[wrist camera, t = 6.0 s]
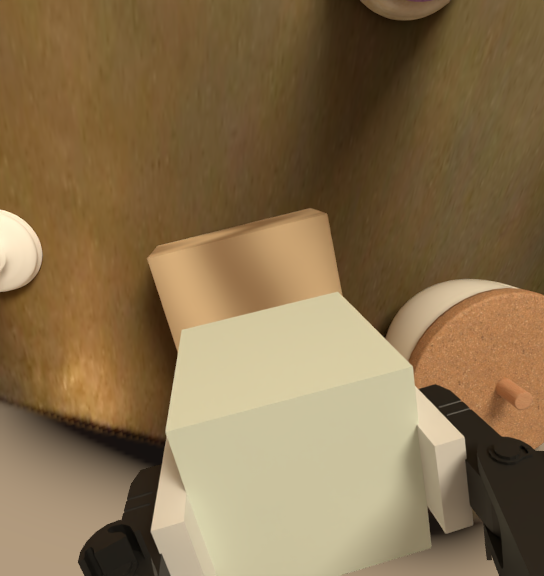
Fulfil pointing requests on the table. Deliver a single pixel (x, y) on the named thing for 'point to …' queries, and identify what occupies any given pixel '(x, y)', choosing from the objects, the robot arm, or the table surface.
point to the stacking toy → (404, 8)
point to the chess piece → (17, 252)
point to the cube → (298, 441)
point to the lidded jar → (479, 350)
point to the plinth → (245, 269)
